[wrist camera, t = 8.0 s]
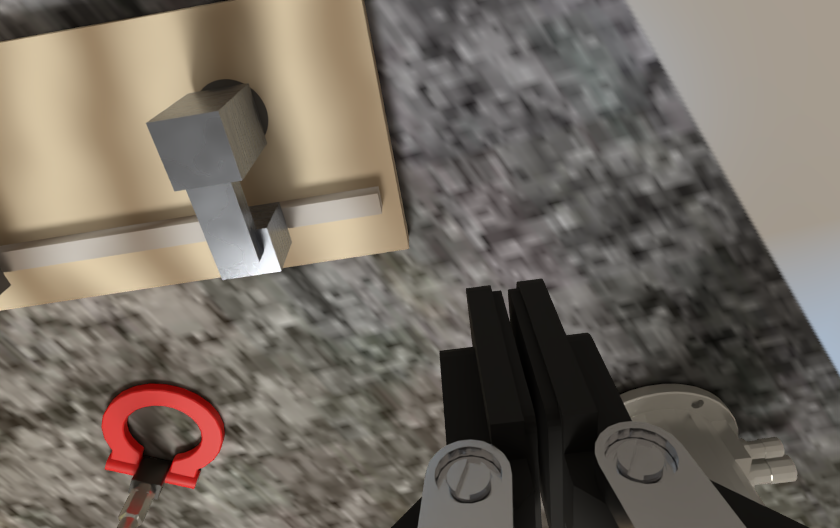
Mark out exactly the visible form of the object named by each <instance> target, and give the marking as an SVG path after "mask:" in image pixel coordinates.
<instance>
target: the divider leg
mask: <svg viewBox="0 0 840 528" xmlns="http://www.w3.org/2000/svg"><path fill="white" fill-rule="evenodd" d="M146 125H147V127H148V130H149V132H150V134H151V137H152V139H153V142H154V144H155V146H156V149H157V151H158V153H159V156H160V158H161V161H162V163H163V165H164V168H165V170H166V173H167V175H168V177H169V180H170V182H171V184H172V187H173V189H174V192H175V191H181V190H186V192H187V194H188V197H189V199H190V201H191V204H192V206H193V209H194V211H195V214H196V216H197V219H198V221H199V224H200V226H201V228H202V231H203V233H204V236H205V239H206V241H207V244H208V246H209V249H210V251H211V254H212V256H213V259H214V261H215V263H216V266H217V268H218V271H219V273H220V276H221V278H222V280H226V279H232V278H239V277H245V276H252V275H259V274H265V273H272V272H279V271H282V268H283V265H284V263H285V260H286V257H287V254H288V252H289V249H290V246H291V244H292V240H291V237H290V234H289V231H288V228H287V225H286V221H285V218H284V215H283V212H282V209H281V206H280V202H274V203H268V204H262V205H255V206H249V207H248V204H247V201H246V198H245V195H244V192H243V190H242V187H241V184H240V181H242V180H243V179H244V177H245V176H246V174H247V173H248V171H249V170H250V168H251V167H252V165H253V164H254V162H255V161H256V159H257V158H258V157H259V155H260V154H261V152H262V151H263V149H264V148H265V146H266V145H267V141H266V138H265V134H264V131H263V128H262V125H261V121H260V118H259V115H258V112H257V109H256V105H255V102H254V99H253V96H252V92H251V89H250V86H249V83H246V84H240V85H235V86H229V87H223V88H217V89H211V90H205V91H199V92H194V93H188V94H187V95H185V96H184V97H182V98H181V99H179V100H178V101H177V102H175V103H174V104H172V105H171V106H169V107H168V108H167V109H165V110H164V111H162V112H161V113H159V114H158V115H157V116H155V117H154V118H152V119H151V120H149V121H148V122H147V123H146Z"/></svg>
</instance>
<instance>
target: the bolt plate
mask: <svg viewBox="0 0 840 528" xmlns="http://www.w3.org/2000/svg"><path fill="white" fill-rule="evenodd" d="M246 83H249V86H250V89H251V92H252V96H253V99H254V102H255V105H256V109H257V112H258V115H259V118H260V121H261V125H262V128H263V131H264V134H265V138H266V141H267V145H266V146H265V148H264V149H263V151H262V152H261V154H260V155H259V157H258V158H257V159H256V161H255V162H254V164H253V165H252V167H251V168H250V170H249V171H248V173H247V174H246V176H245V177H244V179H243V180H242V181H240V184H241V187H242V190H243V192H244V195H245V198H246V201H247V204H248V207H249V206H255V205H262V204H268V203H274V202H280V206H281V209H282V212H283V215H284V218H285V221H286V225H287V228H288V231H289V234H290V237H291V240H292V244H291V246H290V249H289V252H288V254H287V257H286V260H285V263H284V265H283V268H285V267H292V266H298V265H305V264H312V263H318V262H325V261H331V260H338V259H345V258H351V257H358V256H364V255H371V254H378V253H384V252H391V251H397V250H404V249H409V235H408V230H407V224H406V219H405V214H404V209H403V203H402V198H401V193H400V187H399V182H398V177H397V171H396V166H395V161H394V156H393V150H392V145H391V140H390V134H389V129H388V124H387V118H386V113H385V108H384V103H383V97H382V92H381V87H380V81H379V76H378V71H377V66H376V60H375V55H374V50H373V44H372V39H371V34H370V28H369V23H368V18H367V13H366V7H365V2H364V0H228V1H222V2H217V3H211V4H206V5H200V6H195V7H189V8H183V9H178V10H172V11H167V12H161V13H156V14H150V15H145V16H139V17H133V18H128V19H122V20H117V21H111V22H106V23H100V24H94V25H89V26H83V27H78V28H72V29H67V30H61V31H55V32H50V33H44V34H39V35H33V36H28V37H22V38H16V39H11V40H5V41H0V311H1V310H7V309H14V308H21V307H27V306H34V305H40V304H47V303H54V302H60V301H67V300H73V299H80V298H87V297H93V296H100V295H106V294H113V293H120V292H126V291H133V290H140V289H146V288H153V287H159V286H166V285H173V284H179V283H186V282H192V281H199V280H206V279H212V278H219V277H221V276H220V273H219V271H218V268H217V266H216V263H215V261H214V259H213V256H212V254H211V251H210V249H209V246H208V244H207V241H206V239H205V236H204V233H203V231H202V228H201V226H200V224H199V221H198V219H197V216H196V214H195V211H194V209H193V206H192V204H191V201H190V199H189V197H188V194H187V192H186V190H181V191H175V192H174V189H173V187H172V184H171V182H170V180H169V177H168V175H167V173H166V170H165V168H164V165H163V163H162V161H161V158H160V156H159V153H158V151H157V149H156V146H155V144H154V142H153V139H152V137H151V134H150V132H149V130H148V127H147V125H146V123H147V122H148V121H149V120H151V119H152V118H154V117H155V116H157V115H158V114H159V113H161V112H162V111H164V110H165V109H167V108H168V107H169V106H171V105H172V104H174V103H175V102H177V101H178V100H179V99H181V98H182V97H184V96H185V95H187V94H188V93H194V92H199V91H205V90H211V89H217V88H223V87H229V86H235V85H240V84H246Z"/></svg>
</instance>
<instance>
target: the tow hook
mask: <svg viewBox="0 0 840 528" xmlns="http://www.w3.org/2000/svg"><path fill="white" fill-rule="evenodd" d="M147 406H166V407H171V408H175V409H177V410H179V411H182V412H184V413H185V414H187V415H188V416H190V417H191V418H192V419H193V420H194V421H195V422H196V423H197V425H198V427H199V429H200V430H201V436H202V440H201V442H200V444H199V445H198V446H196V447H195V448H194V449H192V450H190V451H187V452H185V453H180V454H177V455H175V457H174V459H173V462H169V461H165V460H161V459H156V458H152V457H148V456H144V457H142V455H143V451H144V447H143V446H142V445H141V444H139V443H138V442H137V441H136V440H135V439H134V438H133V437H132V435H131V434H130V432H129V430H128V426H127V420H128V416H129V415H130V414H131V413H133V412H134V411H135V410H138V409H140V408H142V407H147ZM102 431H103V435H104V438H105V440H106V442H107V443H108V445H109V446H110V448H111V449H112V452H111V454H110V456H109V457H108V460H107V462H106V465H105V469H106V470H110V471H115V472H119V473H124V474H129V475H133V478H132V480H131V484H130V488H129V492H128V493H129V494H130V495H129V496H128V498H127V500H126V502H125V504H124V506H123V508H122V510H121V512H120V514H119V516H118V519H119V521H120V522H119V524H118V526H117V528H137V526H139V525H140V524H141V523H142V522H143V521H144V519H145V516H146V514H147V512H148V510H149V507H150V505H151V503H152V500H153V499H158V497H159V495H160V493H161V490H162V488H163V486H164V483H169V484H174V485H179V486H183V487H188V488H192V489H194V488H195V486H196V485H197V482H198V479H199V476H200V470H198V469H200V468H203V467H205V466H206V465H207V464H209V463H210V462H211V461H213V460H214V459H215V457H216V456H217V454H218V453H219V452H220V449H221V447H222V443H223V440H224V436H225V431H224V423H223V421H222V419H221V417H220V415H219V413H218V412H217V411H216V409H215V408H214V407H213V406H212V405H211V404H210V403H209V402H208V401H206V400H205V399H203V398H202V397H200V396H199V395H197V394H195V393H193V392H191V391H188V390H186V389H184V388H180V387H176V386H172V385H167V384H144V385H138V386H134V387H132V388H130V389H127V390H125V391H123V392H121V393H120V394H119V395H118V396H116V397H115V398H114V399H113V400H112V401H111V403H110V404H109V406H108V408H107V410H106V411H105V413H104V415H103V419H102Z"/></svg>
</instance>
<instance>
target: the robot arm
mask: <svg viewBox="0 0 840 528" xmlns="http://www.w3.org/2000/svg"><path fill="white" fill-rule="evenodd" d="M516 287H517V288H516V289H509V290H508V300H509V313H510V321H509V318H508V314H507V310H506V307H505V303H504V299H503V296H502V292H501V291H493V292H492V289H491V286H490V285H489V286H481V287H473V288H466V294H467V303H468V311H469V320H470V328H471V337H472V345H473V347H468V348H460V349H451V350H443V351H440V366H441V379H442V392H443V404H444V417H445V430H446V443H447V445H446V446H445V447H443V448H442V449H441V450H439V451H438V452H437V453H436V454H435V455H434V456H433V458H432V459H431V460H430V462H429V464H428V467H427V470H426V473H425V480H424V487H423V494H422V497H421V498H420V499H419V500H418V501H417V502H416V503H415V504H414V505H413V506H412V507H411V508H410V509H409V510H408V511H407V512H406V513H405V514H404V515H403V516H402V517H401V518H400V519H399V520H398V521H397V522H396V523H395V524H394V525H393V526H392V527H391V528H542V522H541V502H540V493H541V497H542V501H543V506H544V510H545V514H546V518H547V522H548V526H549V528H809V527H807V526H804V525H802V524H800V523H798V522H796V521H794V520H792V519H790V518H788V517H786V516H784V515H782V514H780V513H778V512H776V511H774V510H772V509H769V508H767V507H766V506H765V504H764V503H763V501H762V500H761V498H760V497H759V495H758V494H757V492H756V491H755V489H754V486H755V485H758V484H766V483H768V484H775V483H783V482H791V481H796V479H797V470H796V467H795V464H794V463H793V461H792V459H791V458H790V457H789V456H788V455H785V454H784V447H783V444H782V442H781V441H780V440H779V439H778V438H777V437H770V438H762V439H757V440H754V441H745V440H744V439H743V438H738V426H737V423H736V420H735V418H734V416H733V415H732V413H731V412H730V410H729V409H728V407H727V406H726V405H725V404H724V403H723V402H722V401H721V400H720V399H719V398H718V397H717V396H715V395H714V394H712V393H710V392H709V391H706V390H704V389H701V388H698V387H695V386H689V385H683V384H659V385H651V386H645V387H641V388H638V389H634V390H630V391H628V392H625V393H623V394H621V395H619V393H618V391H617V389H616V386H615V384H614V382H613V380H612V378H611V376H610V374H609V372H608V370H607V368H606V366H605V364H604V361H603V359H602V357H601V355H600V353H599V351H598V349H597V347H596V345H595V343H594V341H593V339H592V337H591V335H590V334H589V333H581V334H573V335H566V334H565V331H564V329H563V327H562V324H561V322H560V319H559V317H558V314H557V312H556V310H555V307H554V305H553V302H552V300H551V298H550V295H549V293H548V290H547V288H546V286H545V283H544V281H543V279H535V280H527V281H520V282H517V286H516Z"/></svg>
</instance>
